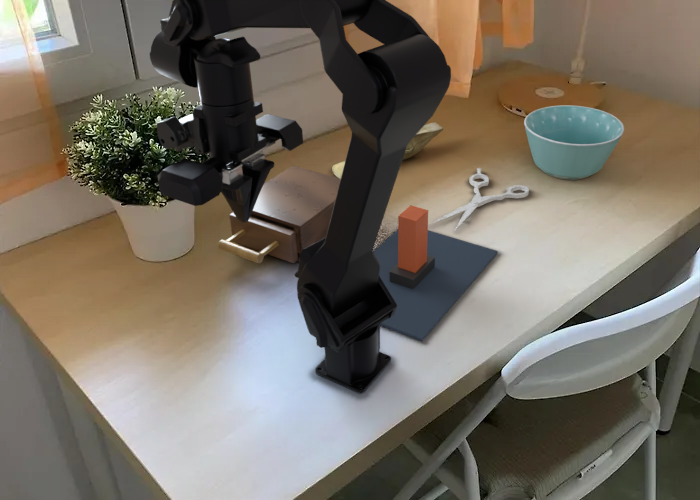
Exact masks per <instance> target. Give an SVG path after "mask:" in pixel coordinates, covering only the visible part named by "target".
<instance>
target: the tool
mask: <svg viewBox="0 0 700 500" xmlns="http://www.w3.org/2000/svg"><path fill="white" fill-rule="evenodd" d="M443 131H444V127H443V126H441V125H440V124H439V123H438V122H436V121H435V122H430V123H426V124H425V125H424V126H423V127H422V128H421V129H420V130H419V132H418V133H417V134H416V135H415V136H414V137H413V138H412V139H411V141H410V142H409V143H408V145H407V147H406V150H405V153H404V156H403V160H402V161H404V160H408V159H409V158H412V157H414V156H415V155H417V154H418V153H420V151H422V150H424V148H425V147H426V146H428V144H429V143H430V142H431V141H432V140H433V139H434V138H435V137H437V136H438V135H439V134H440V133H442V132H443ZM344 164H345V160H344V161H340V162H338V163H336V164H334V165H332V166H331V170H332V173H333V174H334V175H335V177H337V178H340V179H341V176H342V172H343V168H344Z"/></svg>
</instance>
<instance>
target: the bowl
mask: <svg viewBox="0 0 700 500" xmlns="http://www.w3.org/2000/svg"><path fill="white" fill-rule="evenodd" d="M523 125H524V128H525V133H526V138H527V142H528V145H529V150H530V153H531V156H532V161H533V163H534V165H535V166H536V167H537V168H539V169H540V170H541V172H543V173H545V174H546V175H548V176H550V177H552V178H555V179H559V180H568V181H577V180H583V179H586V178H588V177H590V176H592V175H595V174H596V173H598V172H599V171H601V170H602V168H603V167H604V165H605V164H606V162H607V161H608V159H609V157H610V156H611V155H612V154H613V152H614V150H615V148H616V146H617V145H618V144H619V142H620V140H621V138H622V136H623V134H624V133H625V125H624V123H623V122H622V120H620V119H619V118H617V117H616V116H615V115H613V114H611V113H610V112H608V111H607V112H606V111H604V110H602V109H598V108H594V107H590V106H589V107H588V106H582V105H568V104H567V105H566V104H565V105H562V104H561V105H551V106H546V107H545V106H544V107H540V108H538V109H535V110H533V111H531V112H530V113H528V114H527V115H526V117H525V118H524V120H523Z"/></svg>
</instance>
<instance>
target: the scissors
mask: <svg viewBox="0 0 700 500" xmlns="http://www.w3.org/2000/svg"><path fill="white" fill-rule="evenodd" d="M468 178H469V180H468V181H469V185H471V186H472V187H473V192H474V193H475V194H474V195H473V197H472V199H471V200H470V202H469V203H466V204H464V205H462V206H460V207H458V208H456V209H453V210H452V211H450V212H448V213H446V214H445V215H443V216H441V217H439V218H437V219H435V220H434V221H432V222H431V223H430V225H431V224H434V223H437V222H439V221H442V220H445V219H447V218H450V217H452V216H455V215H457V214H460V213H463V214H462V215H461V218H460V220H459V221H458V223H457V225H456V227H455V229H454V231H453V232H455V231H456V230H457V229H458V228H459V227H460V226H461V225H462V224H463V223H464V222H465V221H466V220H467V219H468V218H469V217H470V216H471V214H472V213H473V212H474V211H475V210H476V209H477V208H478V207H481V206H483V205H485V204H488V203H490V202H493V201H502V200H504V199H523V198H526V197H527V196H529V194H530V189H529V187H528V186H526V185H521V184H516V185H515V184H514V185H512V186H508V187H506V191H505V192H503V193H502V194H496V195H495V194H494V195H483V196H482V195H481V193H480V190H479V189H481V188H482V187H487V186H489V183H490V179H489V177H488V175H487V174H484V173H482V168H481V167H477V168H476V173H474V174H472V175H470V177H468ZM477 179H480V180H482V181H476V180H477ZM515 191H522V192H519V193H516V192H515Z"/></svg>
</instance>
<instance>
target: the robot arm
mask: <svg viewBox="0 0 700 500" xmlns="http://www.w3.org/2000/svg"><path fill="white" fill-rule="evenodd" d="M168 13H169V14H168V17H167V18H163V19H160V20H159V23H160V29H161V30H160V31H159V32H158V33H157V34H156V35H155V37H154V38H153V40H152V43H151V46H150V52H149V60H150V62H151V65H152V66H153V68H154V70H155V71H156V72H157V73H158V74H159V75H162V76H164V77H166V78H168V79H171V80H173V81H176V82H178V83H180V84H183V85H185V86H188V87H191V88H195V89H196V88H197V89H198V94H199V100H200V105H198V106H196V107H194V108H193V110H192V113H190V114H188V115H186V116H184V117H182V118H179V119H178V117H176V116H171V117H170V118H169V117H166V118H164V119H162V120H160V121H158V122H156V131H157V137H158V140H159V143H160V145H161V147H162V148H163V149H165V150H170V149H175V151H176V152H181V151H183V150H184V149H189V148H194V150H195V151H194V152H195V153H197V154H201V155H205V154H209V158H207V159H206V160H204V161H202V162H199V161H196V160H192V159H189V158H185V157H184V158H182V159H180V160H178V161H177V162H175V163H173V164H171V165H169V166H167V167H165V168H164V169H162V170H161V171H160V173H158V174H157V182H158V188H159V191H160V195H161V196H164V197H167V198H170V199H174V200H175V201H179V202H183V203H185V204H188V205H191V206H194V207H198V206H203V205H205V204H207V203H208V202H210V201H211V200H214V199H215V198H216V197H218V196H220V195H223V197H224V199H225V200H226V203H227V204H228V206H229V207H230V209H231V211H232V213H233V212H234V214H235V216H236V218H237V219H238V220H239V221H240V222H243V223H245V222H246V221H248V220H249V219H250V216H251V214H252V211H253V208H254V206H255V203H256V201H257V198H258V196H259V194H260V191H261V189H262V187H263V185H264V183H266V180H267V179H268V176H269V174H270V171H271V170H272V169H274V168H275V161H273V160H270V159H266V156H265V153H264V151H265V150H266V149H268V148H270V147H271V146H273V145H274V144H276V142H277V141H278V140H280V141H281V147H282V148H283V149H285V150H286V151H289V152H291V151H293V150H294V149H297V147H300V146H301V145H303V144H304V135H303V129H302V127H301V125H300V124H299V123H298V122H297V120H294V119H290V118H286V117H283V116H277V115H273V114H270V113H267V114H264V115H262V116H261V117H259V118H257V116H258V115H260V114H262V113H264V108H263V102H259V101H255V98H254V90H253V82H252V72H251V65H250V63H254V62H257V61H259V60H261V54H260V52H259V51H258V50H257V48H256V47H254V46H253V45H251V44H250V43H249V42H248V40H247V39H246V37H245V36H239V37H235V38H233V39H229V38H225V37H223V38H222V37H220V38H216V37H218V36H221V35H226V34H228V33H232V32H236V31H241V30H243V29H246V28H248V29H249V28H250V29H310V30H311V31H312V33H314V36H316V37H317V38H318V41H319V47H320V52H321V58H322V64H323V69H324V72H325V74H326V75H327V76H328V77H329V79H330V80H331V82H333V84H334V85H335V87H336V88H337V89H338V90H339V92H340V93H341V94H342V98H341V112H342V114H343V116H344V119H345V121H346V122H347V125H348V128H349V129H350V131H351V137H350V140H349V145H348V148H347V152H346V156H345V160H344V161H345V164H344V168H343V172H342V176H341V180H340V184H339V188H338V192H337V196H336V200H335V204H334V208H333V212H332V216H331V220H330V224H329V228H328V232H327V236H326V237H325V238H323V239H322V240H320V241H318V242H316V243H314V244H312V245H310V246H308V247H306V248H305V249H303V250H302V252H301V254H300V256H299V262H298V268H297V271H296V272H295V273H294V274H293V275H294V277H295V278H297V283H296V291H297V292H296V293H297V300H298V303H299V306H300V310H301V313H302V316H303V319H304V322H305V325H306V327H307V331H308V333H309V334H310V335H311V336H313V337H314V338H315V340H316V341H315V342H316V346H318V347H319V348H324V358H323V360H322V361H321V362H320V363H319V364H318V365H317V366H316V367H315V369H314V373H315V374H316V375H317V376H320V377H322V378H324V379H326V380H328V381H331V382H333V383H335V384H337V385H340V386H342V387H344V388H346V389H349V390H351V391H353V392H355V393H357V394H364V393H366V391H367V390H368V389H369V388H370V387H371V385H372V384H373V383H374V382H375V381H376V380H377V378H378V377H379V376H380V375H381V374H382V373H383V372H384V370H385V369H386V368H387V367H388V366H389V365H390V364H391V362H392V356H390V355H389V354H386V353H385V352H381V351H380V350H381V325H380V323H382V322H383V321H385V320H386V319H388V318H391V317H392V316H393V315H394V313H395V311H396V308H397V304H396V302H395V301H394V299H393V297H392V296H391V294H390V292H389V291H388V289H387V288H386V286H385V284H384V283H383V281H382V279H381V278H380V276H379V271H380V264H379V262H378V260H377V258H376V257H375V255H374V253H373V251H374V248H375V244H376V242H377V238H378V235H379V232H380V230H381V226H382V223H383V221H384V217H385V214H386V212H387V209H388V208H387V207H388V206H389V205H388V204H389V202H390V199H391V195H392V193H393V190H394V187H395V184H396V181H397V179H398V178H397V177H398V174H399V171H400V169H401V165H402V163H403V161H404V160H403V156H404V153H405V150H406V147H407V145H408V143H409V142H410V141H411V139H412V138H413V137H414V136H415V135H416V134H417V133H418V132H419V130H420V129H421V128H422V127H423V126H424V125H426V124H428V122H429V121H430V120H431V118H432V117H433V116H434V115H435V112H436V111H437V109H438V107H440V104H441V102H442V101H443V99H444V98H445V95H446V93H447V92H448V90H449V88H450V85H451V78H452V68H451V66H450V65H449V64H448V62H447V58H446V55H445V53H444V52H443V50H442V48H441V47H440V45H439V44H437V42H436V41H435V40H434V39H432V38H431V37H430V35H429V34H428V33H427V32H426V31H425V29H423V27H422V26H421V24H419V22H418V21H417V19H415V18H414V17H413V16H412V15H410V14H409V13H407V12H406V11H404V10H402V9H400V8H399V7H398V6H396V5H394V4H392V3H391V2H389V1H387V0H172V2H171V5H170V10H169V12H168ZM351 24H353V25H354V26H355V27H356V28H357V29H358V30H360V31H361V32H363V33H365V35H367V36H369V37H371V38H372V39H374V40H375V41H378V42H379V43H381V45H378V46H376V47H373V48H370V49H367V50H364V51H361V52H359V53H357V52H356V50H355V49H354V47H352V45H351V44H350V42H349V41H348V40H347V37H346V32H345V26H348V25H351ZM220 193H221V194H220Z"/></svg>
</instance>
